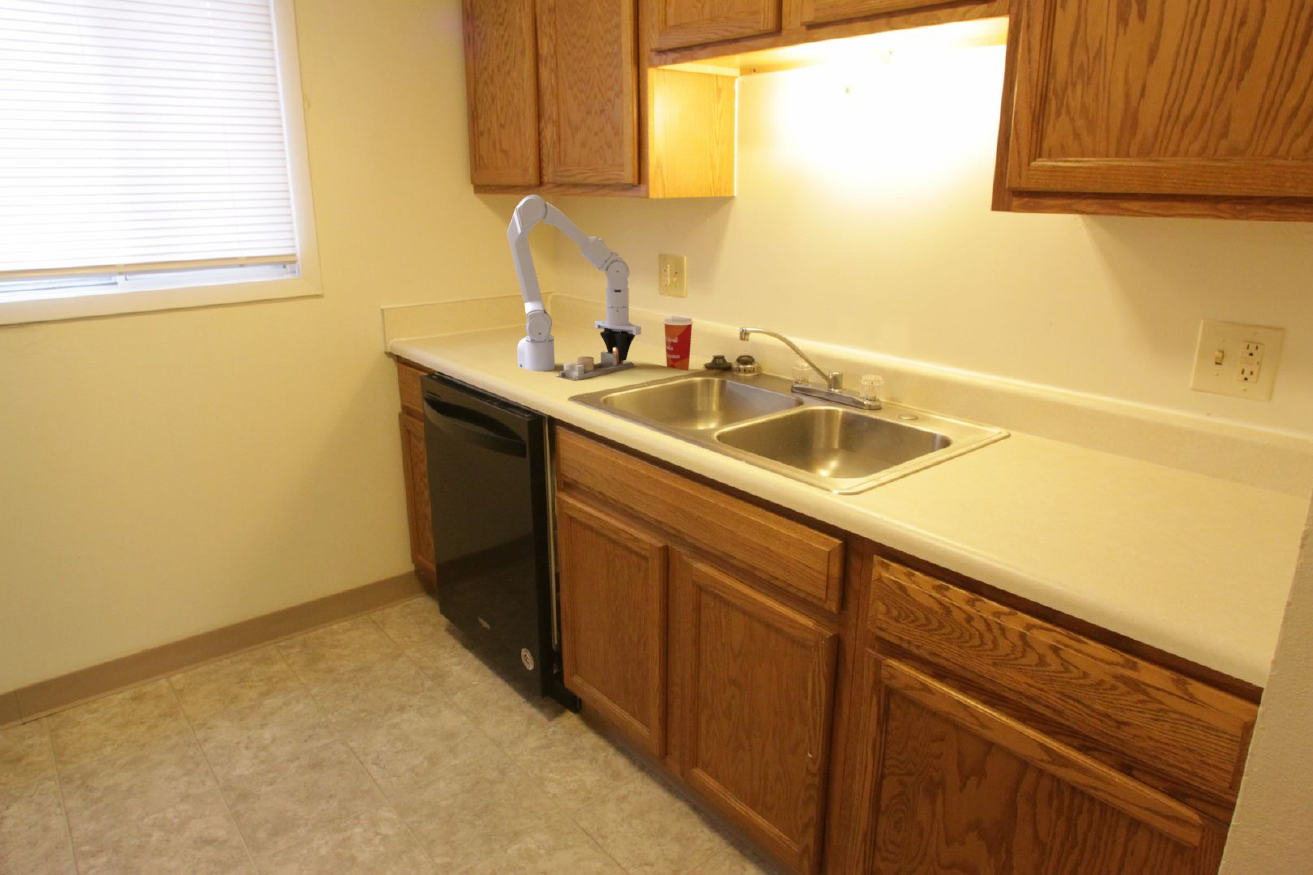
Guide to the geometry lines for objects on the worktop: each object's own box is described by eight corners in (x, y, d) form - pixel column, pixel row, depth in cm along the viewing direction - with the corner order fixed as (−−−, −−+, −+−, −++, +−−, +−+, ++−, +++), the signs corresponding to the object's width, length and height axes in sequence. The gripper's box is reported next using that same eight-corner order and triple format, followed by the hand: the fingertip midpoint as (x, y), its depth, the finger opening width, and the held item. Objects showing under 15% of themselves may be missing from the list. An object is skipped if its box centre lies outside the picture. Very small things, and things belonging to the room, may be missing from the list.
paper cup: (658, 369, 231) (658, 316, 226) (685, 367, 233) (686, 314, 229) (669, 375, 224) (670, 320, 219) (697, 373, 226) (698, 319, 222)
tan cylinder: (574, 374, 218) (573, 358, 217) (586, 371, 221) (585, 355, 220) (585, 376, 215) (585, 360, 214) (597, 373, 218) (596, 358, 217)
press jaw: (600, 367, 225) (600, 348, 223) (620, 363, 230) (619, 344, 228) (613, 369, 222) (613, 350, 221) (632, 365, 227) (632, 346, 226)
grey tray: (555, 382, 216) (554, 364, 215) (617, 368, 232) (617, 351, 230) (575, 386, 211) (574, 368, 210) (637, 372, 227) (637, 355, 226)
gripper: (649, 307, 220) (649, 360, 224) (608, 302, 229) (608, 353, 233) (629, 310, 215) (630, 365, 219) (588, 305, 224) (589, 357, 228)
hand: (617, 359), depth 226 cm, fingers open, 3 cm apart
